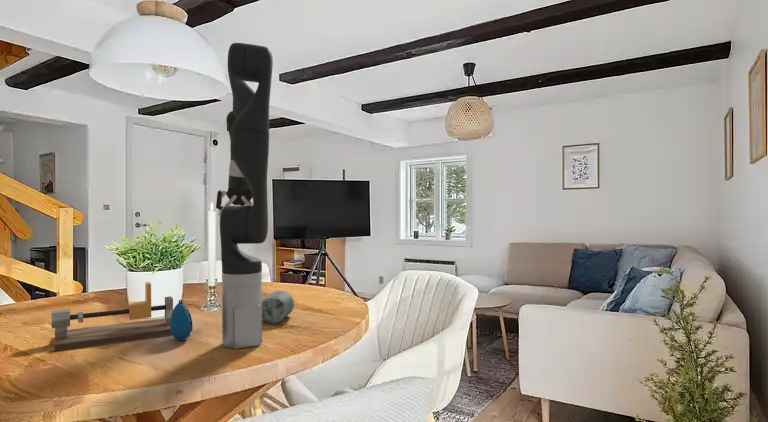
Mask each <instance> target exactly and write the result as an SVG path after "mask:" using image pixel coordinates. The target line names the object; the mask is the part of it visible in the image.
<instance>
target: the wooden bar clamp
mask: <svg viewBox="0 0 768 422" xmlns="http://www.w3.org/2000/svg"><path fill="white" fill-rule="evenodd" d="M173 310H174V298H173V296H170V295H169V296H164V304H163V305H162V304H160V305H154V306H153V305H151V312H155V311H164V318H158V319H157V318H156V319H148V320H140V321H133V322H124V323H123V322H122V323H117V324H116V323H115V324H106V325H97V326H90V327H82V328H72V329H68V327H71V320H78V324H81V323H84V319H90V318H91V319H92V318H99V317H111V316H116V315H117V316H119V315H128V314H129V309H128V308H122V309H115V310H105V311H97V312H85V313H84V309H78V311H77V312H78V313H76V314H71V308H65V309H54V310H52V311H51V329H54V339H55V342H54V352H59V351H65V350H74V349H80V348H87V347H96V346H102V345H109V344H116V343H125V342H131V341H138V340H139V341H140V340H145V339H152V338H153V339H154V338H161V337H168V336H169V337H170V336H173V335H172V334H171V330H170V320H171V316H172V312H173Z"/></svg>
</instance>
